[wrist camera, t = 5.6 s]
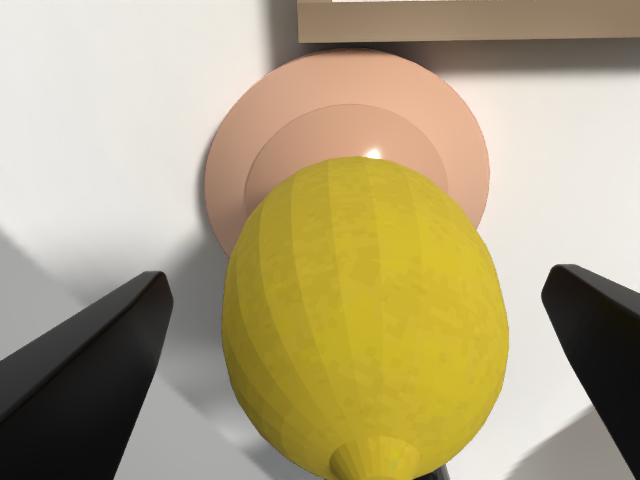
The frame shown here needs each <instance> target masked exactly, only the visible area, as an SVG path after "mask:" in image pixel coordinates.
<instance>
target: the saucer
mask: <svg viewBox="0 0 640 480" xmlns="http://www.w3.org/2000/svg"><path fill="white" fill-rule="evenodd" d="M352 156H363V157H370V158H377V159H383V160H389V161H393V162H395V163H398V164H400V165H402V166H405V167H407V168H409V169H411V170H414V171H416V172H418V173H421V174H422V175H424V176H426V177H427V178H428V179H429V180H431V181H432V182H433V183H434V184H435V185H437V186H438V187H439V188H440V189H441V190H443V191H444V192H445V193H446V194H448V195H449V196H450V197H451V198H452V199H453V200H455V201H456V202H457V203H458V205H459V206H460V207H461V208H462V209H463V211H464V212H465V214H466V215H467V217H468V218H469V220H470V222H471V223H472V225H473V226H474V228H475V229H477V227H478V225H479V223H480V221H481V218H482V215H483V212H484V209H485V206H486V202H487V197H488V191H489V179H490V168H489V158H488V152H487V148H486V144H485V140H484V136H483V134H482V132H481V129H480V127H479V125H478V122H477V120H476V118H475V117H474V115H473V114H472V112H471V110H470V109H469V107H468V106H467V104H466V103H465V102H464V100H463V99H462V98H461V97H460V96H459V95H458V94H457V93H456V92H455V90H454V89H453V88H452V87H451V86H449V85H448V84H447V83H446V82H444V81H443V80H442V79H441V78H439V77H438V76H437V75H436V74H434V73H432V72H430V71H428V70H427V69H425V68H423V67H421V66H420V65H418V64H416V63H414V62H412V61H410V60H408V59H405V58H402V57H400V56H397V55H394V54H392V53H388V52H383V51H378V50H374V49H367V48H349V47H348V48H337V49H326V50H322V51H318V52H314V53H310V54H306V55H303V56H301V57H298V58H296V59H293V60H291V61H289V62H286V63H284V64H283V65H281V66H279V67H277V68H276V69H274V70H272V71H271V72H269V73H267V74H266V75H265V76H264V77H262V78H261V79H260V80H259V81H257V82H256V83H255V84H254V85H252V86H251V87H250V89H249V90H248V91H247V92H246V93H245V94H244V95H243V96H242V97H241V98H240V99H239V100H238V101H237V103H236V104H235V105H234V106H233V107H232V109H231V110H230V112H229V113H228V114H227V116H226V117H225V119H224V120H223V122H222V123H221V125H220V127H219V129H218V131H217V133H216V135H215V138H214V140H213V142H212V145H211V149H210V152H209V155H208V158H207V164H206V170H205V182H204V194H205V202H206V209H207V213H208V217H209V220H210V224H211V227H212V229H213V231H214V233H215V236H216V238H217V240H218V242H219V244H220V245H221V247H222V249H223V250H224V252H225V253H226V255H227V256H228V257H229V259H230V257H231V254H232V252H233V250H234V247H235V245H236V243H237V241H238V238H239V236H240V234H241V232H242V229H243V227H244V225H245V223H246V221H247V219H248V218H249V216H250V215H251V214H252V212H253V211H254V210H255V209H256V208H257V206H258V205H259V204H260V203H261V202H262V201H263V200H264V198H265V197H266V196H267V195H268V194H269V193H270V191H271V190H272V189H273V188H274V187H275V186H277V185H278V184H280V183H281V182H283V181H284V180H286V179H287V178H289V177H290V176H292V175H293V174H295V173H296V172H297V171H299V170H301V169H302V168H305V167H308V166H311V165H313V164H316V163H319V162H322V161H325V160H327V159H331V158H342V157H352Z"/></svg>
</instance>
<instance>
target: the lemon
mask: <svg viewBox="0 0 640 480" xmlns="http://www.w3.org/2000/svg"><path fill="white" fill-rule="evenodd" d="M221 332H222V346H223V351H224V356H225V361H226V365H227V369H228V373H229V377H230V381H231V385H232V388H233V391H234V393H235V395H236V398H237V400H238V402H239V404H240V405H241V407H242V408H243V410H244V412H245V413H246V415H247V416H248V418H249V419H250V421H251V422H252V424H253V425H254V426H255V428H256V429H257V430H258V432H259V433H260V435H261V436H262V437H263V438H264V439H266V440H267V441H268V442H269V443H270V444H271V445H272V446H273V447H274V448H275V449H276V450H278V451H279V452H280V453H281V454H282V455H283V456H285V457H286V458H287V459H288V460H290V461H291V462H293V463H295V464H296V465H298V466H299V467H301V468H303V469H305V470H306V471H308V472H310V473H312V474H314V475H316V476H318V477H322V478H325V479H328V480H412V479H415V478H418V477H420V476H423V475H425V474H428V473H430V472H432V471H434V470H436V469H437V468H439V467H440V466H442V465H444V464H445V463H447V462H448V461H449V460H451V459H452V458H453V457H454V456H455V455H457V454H458V453H459V452H460V451H461V450H462V449H463V448H464V447H465V446H466V445H467V444H468V443H469V442H470V441H471V440H472V439H473V438H474V436H475V435H476V434H477V433H478V431H479V430H480V429H481V427H482V426H483V425H484V423H485V421H486V419H487V417H488V415H489V414H490V412H491V410H492V408H493V406H494V404H495V402H496V400H497V398H498V396H499V394H500V392H501V389H502V385H503V380H504V375H505V370H506V363H507V357H508V350H509V327H508V321H507V314H506V310H505V306H504V301H503V297H502V293H501V289H500V285H499V281H498V277H497V273H496V269H495V267H494V264H493V261H492V258H491V256H490V253H489V251H488V249H487V247H486V245H485V243H484V242H483V240H482V239H481V237H480V235H479V234H478V232H477V231H476V229H475V228H474V226H473V225H472V223H471V222H470V220H469V218H468V217H467V215H466V214H465V212H464V211H463V209H462V208H461V207H460V206H459V205H458V203H457V202H456V201H455V200H453V199H452V198H451V197H450V196H449V195H448V194H446V193H445V192H444V191H443V190H441V189H440V188H439V187H438V186H437V185H435V184H434V183H433V182H432V181H431V180H429V179H428V178H427V177H426V176H424V175H422V174H421V173H418V172H416V171H414V170H411V169H409V168H407V167H405V166H402V165H400V164H398V163H395V162H393V161H389V160H383V159H377V158H370V157H363V156H352V157H342V158H331V159H327V160H325V161H322V162H319V163H316V164H313V165H311V166H308V167H305V168H302V169H301V170H299V171H297V172H296V173H295V174H293V175H292V176H290V177H289V178H287V179H286V180H284V181H283V182H281V183H280V184H278V185H277V186H275V187H274V188H273V189H272V190H271V191H270V193H269V194H268V195H267V196H266V197H265V198H264V200H263V201H262V202H261V203H260V204H259V205H258V206H257V208H256V209H255V210H254V211H253V212H252V214H251V215H250V216H249V218H248V219H247V221H246V223H245V225H244V227H243V229H242V232H241V234H240V236H239V238H238V241H237V243H236V245H235V247H234V250H233V252H232V254H231V257H230V260H229V263H228V267H227V272H226V277H225V287H224V298H223V309H222V329H221Z"/></svg>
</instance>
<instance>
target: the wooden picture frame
mask: <svg viewBox="0 0 640 480" xmlns="http://www.w3.org/2000/svg"><path fill="white" fill-rule="evenodd" d="M297 18H298V42H299V43H330V42H390V41H450V40H510V39H571V38H631V37H640V0H450V1H390V2H332V0H297Z"/></svg>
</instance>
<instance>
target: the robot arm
mask: <svg viewBox="0 0 640 480" xmlns="http://www.w3.org/2000/svg"><path fill="white" fill-rule="evenodd" d="M541 299H542V302H543V305H544V307H545V309H546V312H547V314H548V316H549V319H550V321H551V323H552V325H553V328H554V330H555V332H556V335H557V337H558V339H559V341H560V344H561V346H562V348H563V350H564V353H565V355H566V357H567V359H568V361H569V363H570V365H571V366H572V368H573V370H574V372H575V374H576V375H577V377H578V379H579V381H580V382H581V384H582V386H583V388H584V390H585V391H586V393H587V395H588V397H589V398H590V400H591V402H592V404H593V405H594V407H595V409H596V410H597V412H598V414H599V416H600V418H601V419H602V421H603V423H604V425H605V426H606V428H607V430H608V432H609V434H610V435H611V437H612V439H613V441H614V442H615V444H616V446H617V447H618V449H619V451H620V453H621V455H622V456H623V458H624V460H625V462H626V463H627V465H628V467H629V469H630V470H631V472H632V474H633V476H634V477H635V479H636V480H640V293H638V292H635V291H633V290H631V289H629V288H626V287H624V286H622V285H620V284H618V283H615V282H613V281H611V280H609V279H607V278H604V277H602V276H600V275H598V274H595V273H593V272H591V271H589V270H587V269H584V268H582V267H580V266H578V265H575V264H557V265H555V266H553V267H552V268H551V270H550V273H549V275H548V277H547V280H546V282H545V284H544V287H543V289H542V293H541ZM172 309H173V296H172V293H171V290H170V287H169V284H168V280H167V277H166V275H165V274H164V272H162V271H145V272H143V273H141V274H140V275H138V276H136V277H135V278H133V279H132V280H130V281H128V282H127V283H125V284H123V285H122V286H120V287H119V288H117V289H115V290H114V291H112V292H111V293H109V294H107V295H106V296H104V297H103V298H101V299H99V300H98V301H96V302H95V303H93V304H91V305H90V306H88V307H87V308H85V309H83V310H82V311H80V312H78V313H77V314H75V315H74V316H72V317H71V318H69V319H67V320H66V321H64V322H62V323H61V324H60V325H58V326H56V327H54V328H53V329H51V330H50V331H48V332H46V333H45V334H43V335H42V336H40V337H38V338H37V339H35V340H34V341H32V342H30V343H29V344H27V345H26V346H24V347H22V348H21V349H19V350H17V351H16V352H14V353H13V354H11V355H9V356H8V357H7V358H5V359H3V360H1V361H0V480H113V479H114V477H115V474H116V471H117V469H118V466H119V464H120V461H121V459H122V456H123V454H124V451H125V448H126V446H127V443H128V441H129V438H130V435H131V433H132V430H133V428H134V425H135V423H136V420H137V418H138V415H139V412H140V410H141V407H142V405H143V402H144V400H145V397H146V394H147V392H148V389H149V387H150V384H151V382H152V379H153V377H154V374H155V371H156V368H157V365H158V362H159V358H160V355H161V351H162V347H163V344H164V340H165V336H166V332H167V328H168V325H169V321H170V317H171V313H172ZM324 480H328V479H325V478H324ZM412 480H450V478H449V474H448V471H447V467H446V464H444V465H442V466H440V467H439V468H437V469H436V470H434V471H432V472H430V473H428V474H425V475H423V476H420V477H418V478H415V479H412Z"/></svg>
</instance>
